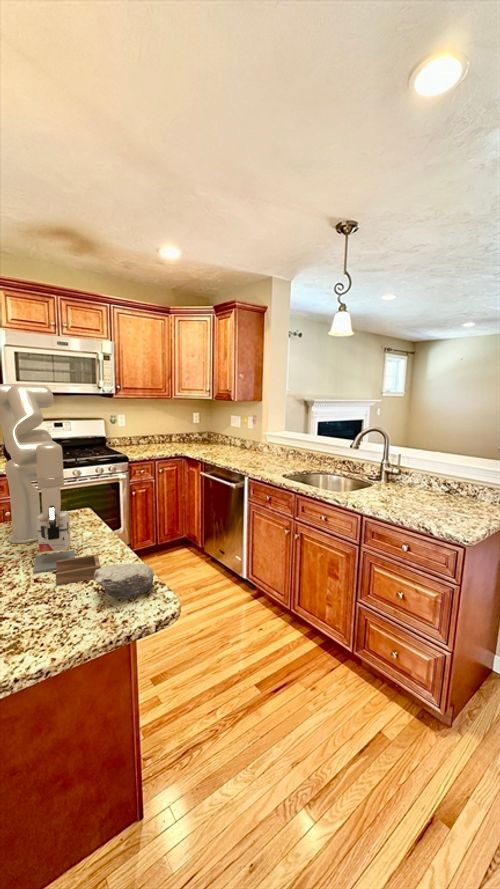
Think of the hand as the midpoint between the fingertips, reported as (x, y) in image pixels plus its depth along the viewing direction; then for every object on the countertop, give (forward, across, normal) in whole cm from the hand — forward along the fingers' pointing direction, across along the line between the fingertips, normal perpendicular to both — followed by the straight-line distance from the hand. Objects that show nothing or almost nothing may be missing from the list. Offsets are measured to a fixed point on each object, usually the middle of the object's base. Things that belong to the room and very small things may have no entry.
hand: (54, 535), depth 120 cm
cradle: (+10, +12, +6) cm, 16 cm away
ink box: (+5, 0, 0) cm, 5 cm away
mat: (+10, 0, 0) cm, 10 cm away
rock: (+10, +29, +18) cm, 36 cm away
